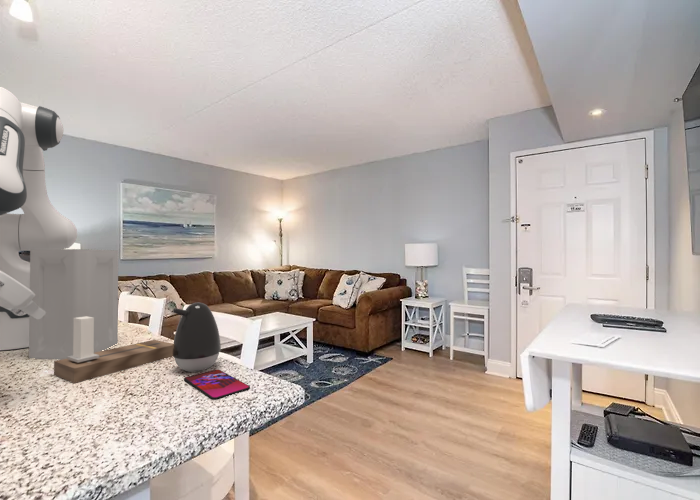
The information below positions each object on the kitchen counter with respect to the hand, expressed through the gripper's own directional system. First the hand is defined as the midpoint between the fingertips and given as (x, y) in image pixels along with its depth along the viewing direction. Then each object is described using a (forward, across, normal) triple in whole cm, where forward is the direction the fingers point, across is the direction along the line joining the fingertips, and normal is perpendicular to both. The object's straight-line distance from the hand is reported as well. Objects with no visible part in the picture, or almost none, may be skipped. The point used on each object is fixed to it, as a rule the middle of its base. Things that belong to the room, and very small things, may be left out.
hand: (32, 314), depth 68 cm
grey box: (+21, +21, -1) cm, 30 cm away
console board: (+22, 0, -1) cm, 22 cm away
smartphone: (+24, -31, -3) cm, 39 cm away
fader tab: (+14, 0, +2) cm, 14 cm away
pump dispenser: (+27, -18, -6) cm, 34 cm away
